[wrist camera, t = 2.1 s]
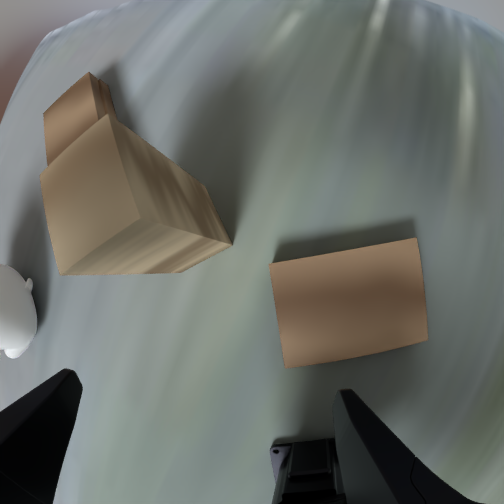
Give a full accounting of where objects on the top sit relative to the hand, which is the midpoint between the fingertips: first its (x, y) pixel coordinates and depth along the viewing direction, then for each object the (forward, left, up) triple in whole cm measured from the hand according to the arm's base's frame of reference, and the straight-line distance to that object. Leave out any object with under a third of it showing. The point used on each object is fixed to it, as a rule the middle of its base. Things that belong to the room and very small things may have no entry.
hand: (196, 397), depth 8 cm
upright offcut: (+8, +4, -12) cm, 15 cm away
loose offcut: (+1, -7, -12) cm, 14 cm away
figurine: (+4, +26, -12) cm, 29 cm away
